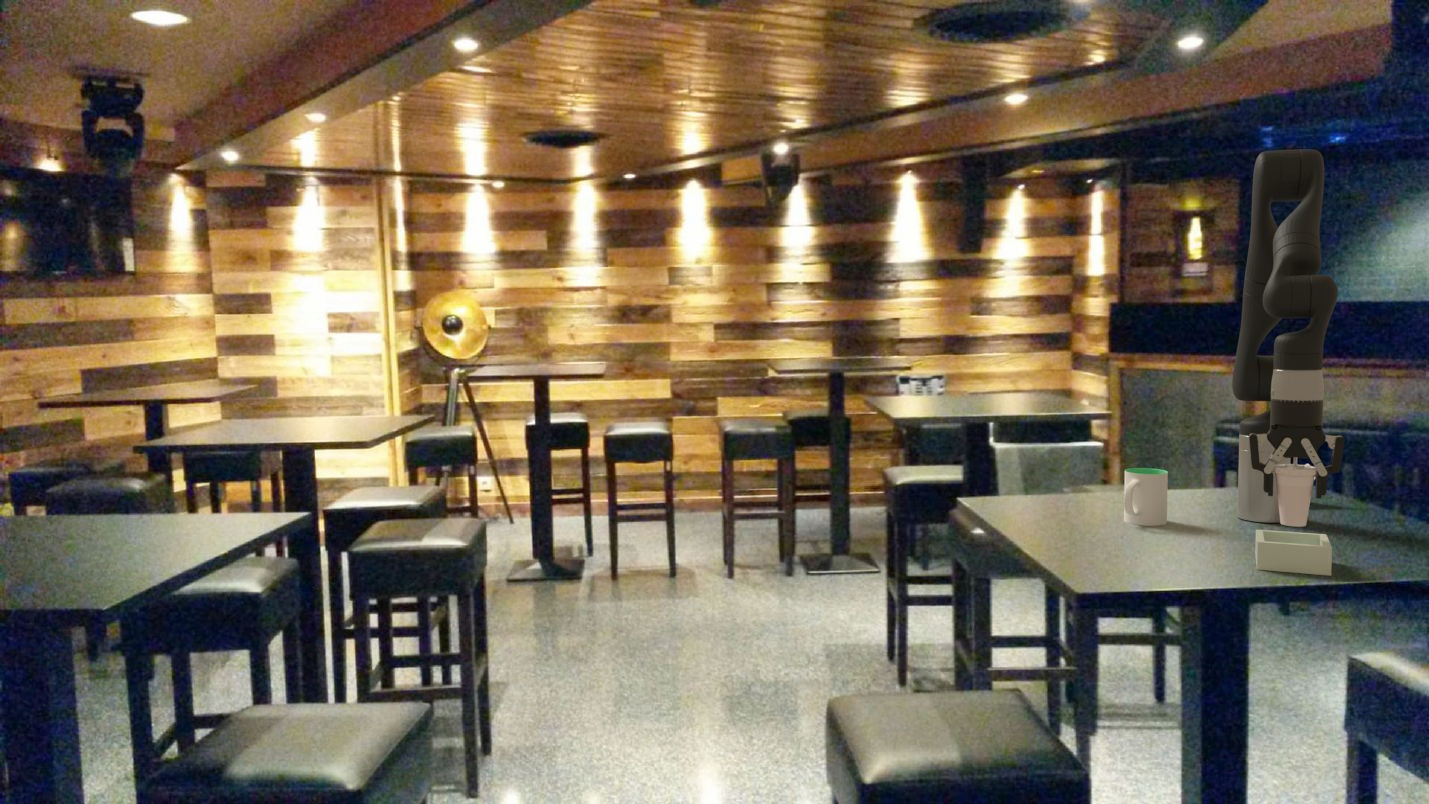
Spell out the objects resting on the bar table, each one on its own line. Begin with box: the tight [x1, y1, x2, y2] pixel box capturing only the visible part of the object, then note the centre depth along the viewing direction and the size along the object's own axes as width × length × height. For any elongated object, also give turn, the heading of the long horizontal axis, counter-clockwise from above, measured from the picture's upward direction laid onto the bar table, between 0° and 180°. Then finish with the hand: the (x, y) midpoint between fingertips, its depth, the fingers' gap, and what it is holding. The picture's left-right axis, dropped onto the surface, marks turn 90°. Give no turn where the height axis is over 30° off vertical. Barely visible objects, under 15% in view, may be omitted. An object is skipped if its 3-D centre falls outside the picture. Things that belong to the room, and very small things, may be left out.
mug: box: [1123, 467, 1169, 527], centre depth 204 cm, size 12×8×10 cm, turn 136°
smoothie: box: [1273, 457, 1318, 528], centre depth 168 cm, size 6×6×14 cm
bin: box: [1254, 529, 1333, 577], centre depth 169 cm, size 10×10×5 cm
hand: (1293, 496), depth 168 cm, fingers closed on smoothie, 6 cm apart
